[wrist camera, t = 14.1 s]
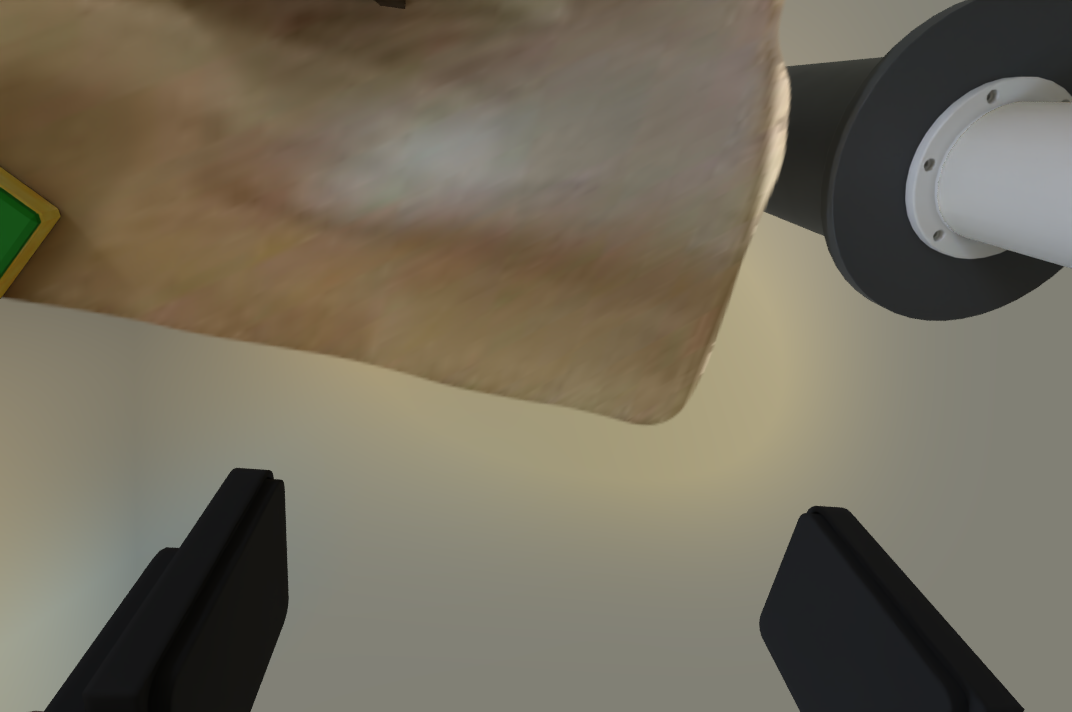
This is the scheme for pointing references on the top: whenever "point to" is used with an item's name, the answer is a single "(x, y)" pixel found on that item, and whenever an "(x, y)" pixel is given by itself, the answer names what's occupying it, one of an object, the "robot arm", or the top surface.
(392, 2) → the rack
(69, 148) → the top surface
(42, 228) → the dish sponge
